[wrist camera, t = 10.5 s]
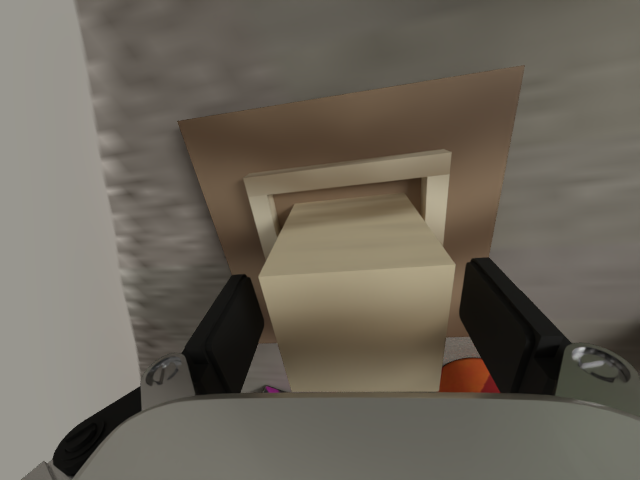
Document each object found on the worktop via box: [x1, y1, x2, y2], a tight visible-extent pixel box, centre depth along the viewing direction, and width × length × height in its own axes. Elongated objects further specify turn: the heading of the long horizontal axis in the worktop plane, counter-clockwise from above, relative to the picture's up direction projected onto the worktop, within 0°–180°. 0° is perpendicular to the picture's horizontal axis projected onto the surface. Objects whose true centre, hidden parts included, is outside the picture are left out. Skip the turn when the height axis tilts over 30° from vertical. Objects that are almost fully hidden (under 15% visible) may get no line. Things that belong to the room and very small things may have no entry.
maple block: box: [258, 193, 456, 392], centre depth 12 cm, size 6×6×7 cm
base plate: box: [177, 65, 525, 343], centre depth 16 cm, size 16×16×2 cm
